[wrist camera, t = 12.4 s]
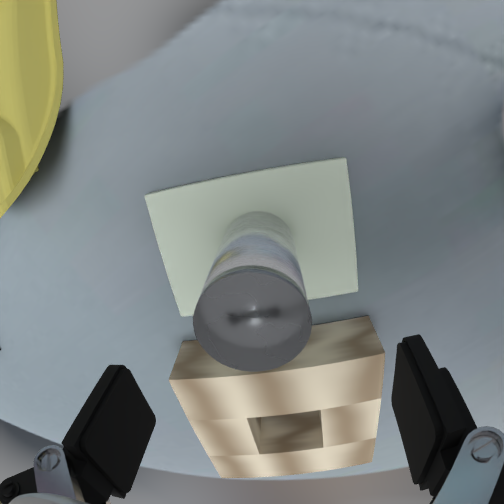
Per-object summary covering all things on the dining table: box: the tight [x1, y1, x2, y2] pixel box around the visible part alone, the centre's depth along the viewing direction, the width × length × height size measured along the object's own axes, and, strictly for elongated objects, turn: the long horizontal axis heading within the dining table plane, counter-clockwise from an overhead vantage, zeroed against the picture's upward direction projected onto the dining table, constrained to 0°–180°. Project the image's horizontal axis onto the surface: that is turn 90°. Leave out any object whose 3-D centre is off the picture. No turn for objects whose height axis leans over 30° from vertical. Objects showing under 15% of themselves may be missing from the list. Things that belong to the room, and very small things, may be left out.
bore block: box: [169, 316, 385, 478], centre depth 27 cm, size 16×16×5 cm
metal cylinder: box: [193, 211, 312, 372], centre depth 18 cm, size 5×5×10 cm
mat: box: [145, 157, 358, 317], centre depth 23 cm, size 14×10×1 cm
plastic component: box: [0, 0, 63, 218], centre depth 18 cm, size 20×7×10 cm
